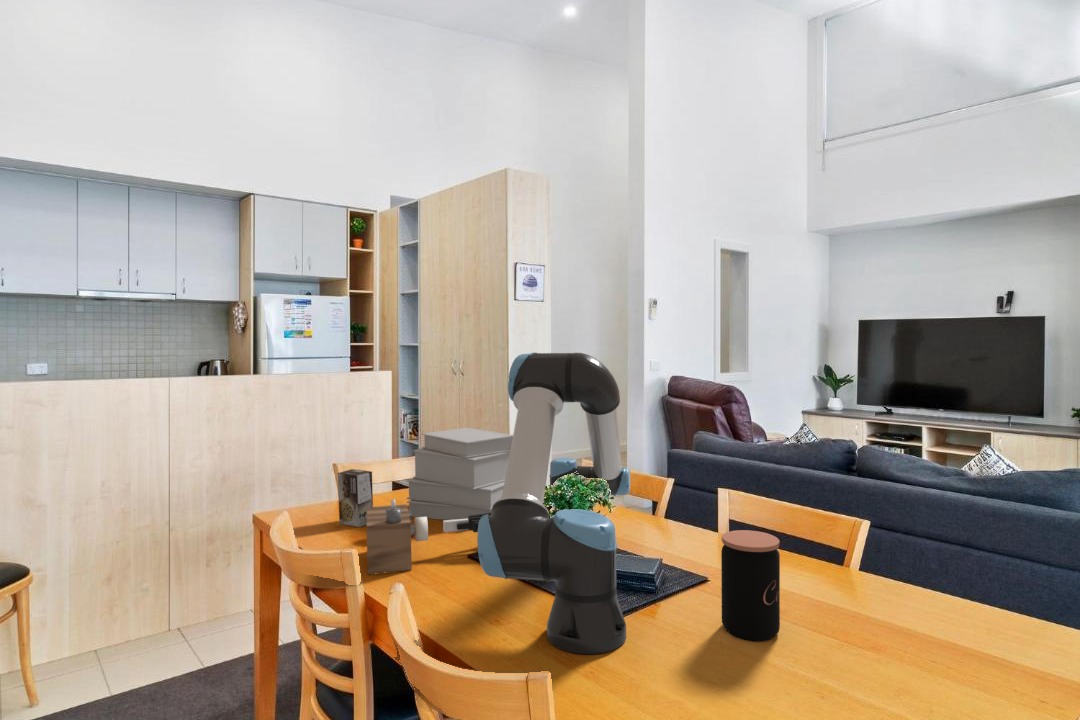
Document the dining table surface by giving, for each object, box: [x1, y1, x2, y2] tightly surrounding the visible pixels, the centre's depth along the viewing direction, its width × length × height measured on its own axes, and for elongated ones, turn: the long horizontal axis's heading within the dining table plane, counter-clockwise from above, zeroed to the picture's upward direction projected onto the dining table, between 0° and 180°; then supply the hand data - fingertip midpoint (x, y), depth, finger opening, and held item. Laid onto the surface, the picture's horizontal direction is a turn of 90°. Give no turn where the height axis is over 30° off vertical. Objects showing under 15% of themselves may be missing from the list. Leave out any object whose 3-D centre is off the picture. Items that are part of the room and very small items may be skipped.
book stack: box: [405, 427, 513, 521], centre depth 211 cm, size 30×35×26 cm
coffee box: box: [337, 468, 374, 528], centre depth 200 cm, size 9×6×16 cm
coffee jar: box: [720, 529, 781, 643], centre depth 124 cm, size 11×11×18 cm
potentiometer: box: [386, 499, 401, 524], centre depth 159 cm, size 4×4×5 cm
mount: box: [366, 503, 413, 575], centre depth 166 cm, size 18×11×12 cm, turn 15°
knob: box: [411, 517, 429, 542], centre depth 166 cm, size 6×15×6 cm, turn 105°
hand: (443, 526), depth 169 cm, fingers closed
